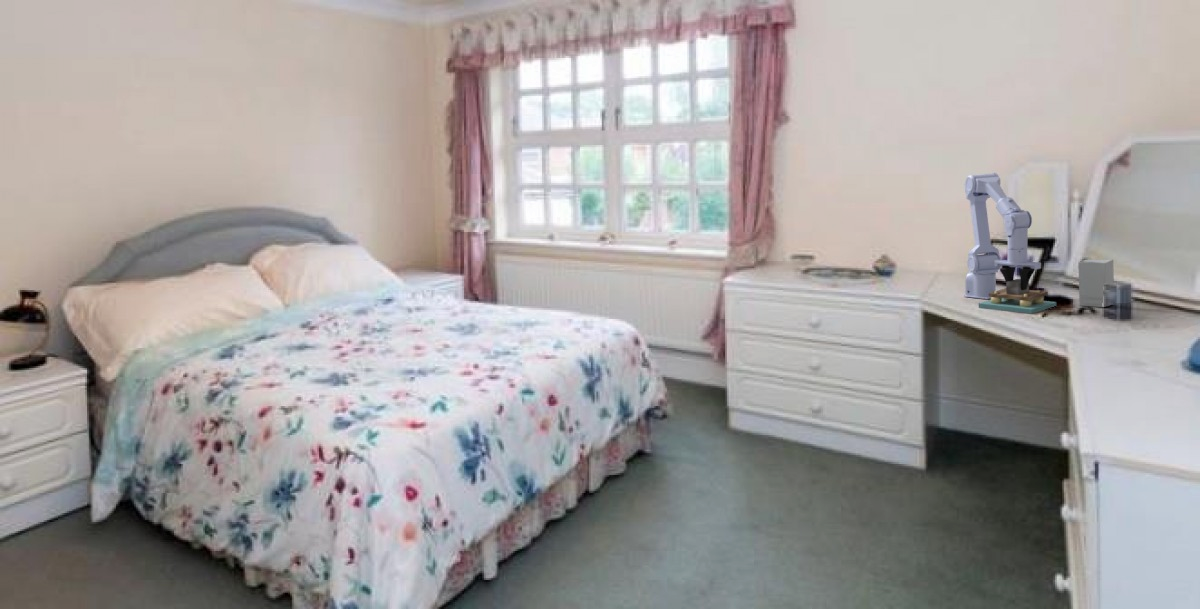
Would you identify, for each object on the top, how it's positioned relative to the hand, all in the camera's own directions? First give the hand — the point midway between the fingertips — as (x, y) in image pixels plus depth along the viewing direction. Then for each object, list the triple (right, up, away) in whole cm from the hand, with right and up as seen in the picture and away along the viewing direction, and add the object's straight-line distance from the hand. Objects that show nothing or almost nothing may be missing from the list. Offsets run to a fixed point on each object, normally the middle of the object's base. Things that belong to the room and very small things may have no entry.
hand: (1016, 288), depth 246 cm
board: (+1, -2, +1) cm, 2 cm away
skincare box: (+22, -6, -6) cm, 24 cm away
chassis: (+1, -6, +1) cm, 6 cm away
